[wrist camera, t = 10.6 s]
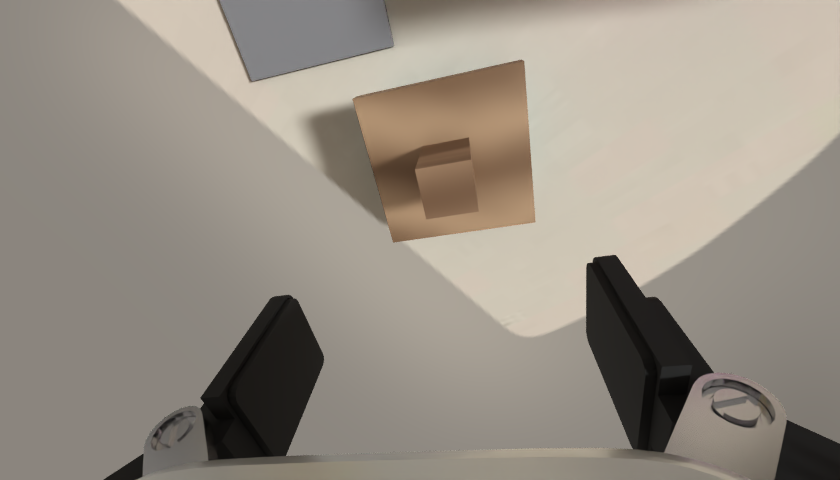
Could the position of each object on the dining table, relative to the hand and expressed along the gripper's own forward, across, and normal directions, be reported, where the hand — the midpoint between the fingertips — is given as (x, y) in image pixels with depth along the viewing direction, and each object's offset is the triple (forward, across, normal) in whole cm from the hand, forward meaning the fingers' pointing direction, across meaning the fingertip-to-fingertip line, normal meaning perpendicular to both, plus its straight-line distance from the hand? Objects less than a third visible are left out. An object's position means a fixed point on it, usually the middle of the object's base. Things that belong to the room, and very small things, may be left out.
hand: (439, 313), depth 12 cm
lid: (+17, 0, 0) cm, 17 cm away
